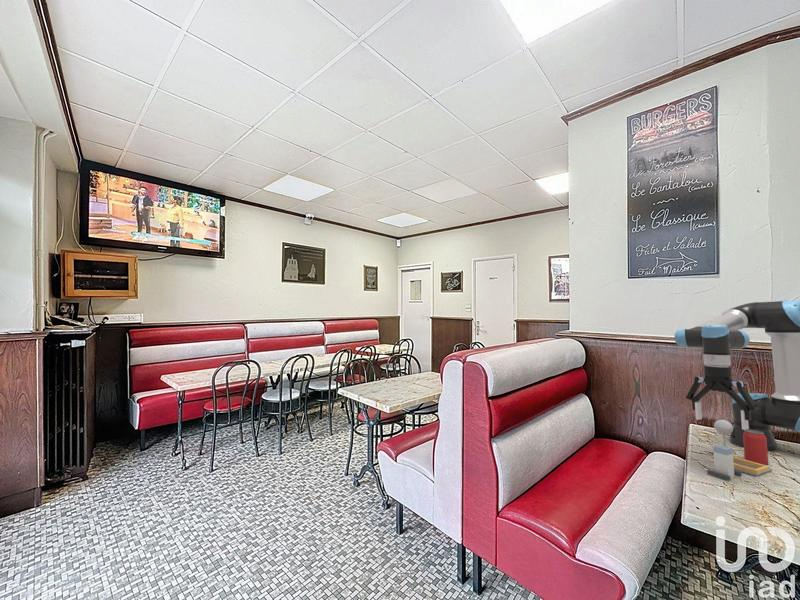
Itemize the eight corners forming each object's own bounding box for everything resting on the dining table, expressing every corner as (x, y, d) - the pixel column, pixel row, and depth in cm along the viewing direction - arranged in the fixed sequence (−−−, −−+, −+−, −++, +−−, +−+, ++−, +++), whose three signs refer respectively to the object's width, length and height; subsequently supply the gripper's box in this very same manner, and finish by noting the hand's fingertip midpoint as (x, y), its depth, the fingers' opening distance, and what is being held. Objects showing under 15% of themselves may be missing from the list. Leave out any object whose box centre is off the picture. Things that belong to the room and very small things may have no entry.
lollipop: (731, 460, 138) (728, 422, 139) (713, 455, 143) (710, 419, 144) (738, 457, 141) (735, 420, 142) (719, 452, 146) (717, 417, 147)
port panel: (733, 460, 138) (733, 455, 138) (771, 471, 128) (771, 465, 128) (717, 465, 133) (717, 460, 133) (755, 477, 123) (755, 471, 123)
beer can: (773, 466, 132) (770, 434, 133) (753, 464, 134) (750, 433, 134) (759, 459, 139) (757, 429, 140) (740, 458, 140) (738, 428, 141)
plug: (720, 472, 128) (718, 444, 128) (734, 476, 124) (732, 448, 125) (714, 473, 126) (712, 446, 127) (728, 478, 122) (726, 449, 123)
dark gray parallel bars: (721, 469, 130) (720, 465, 130) (742, 476, 124) (741, 471, 124) (707, 474, 126) (707, 469, 126) (728, 480, 120) (727, 476, 120)
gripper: (673, 362, 138) (676, 416, 136) (757, 370, 115) (762, 435, 113) (684, 362, 140) (687, 414, 139) (768, 369, 118) (773, 432, 116)
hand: (721, 424), depth 126 cm, fingers open, 13 cm apart
